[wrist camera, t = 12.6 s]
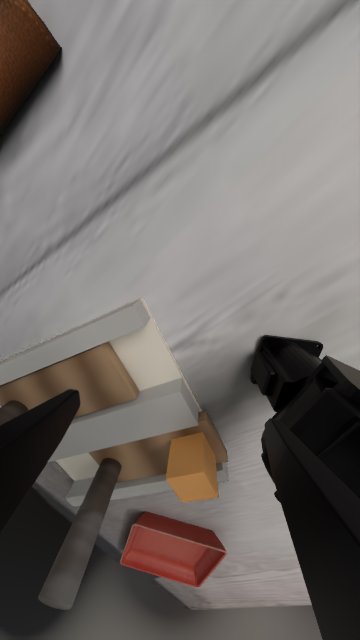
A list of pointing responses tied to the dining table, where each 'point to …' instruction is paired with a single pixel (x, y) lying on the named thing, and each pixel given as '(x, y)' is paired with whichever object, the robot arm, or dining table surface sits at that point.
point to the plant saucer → (172, 549)
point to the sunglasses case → (21, 55)
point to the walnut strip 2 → (113, 468)
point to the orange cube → (192, 468)
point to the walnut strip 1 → (72, 383)
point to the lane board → (126, 418)
